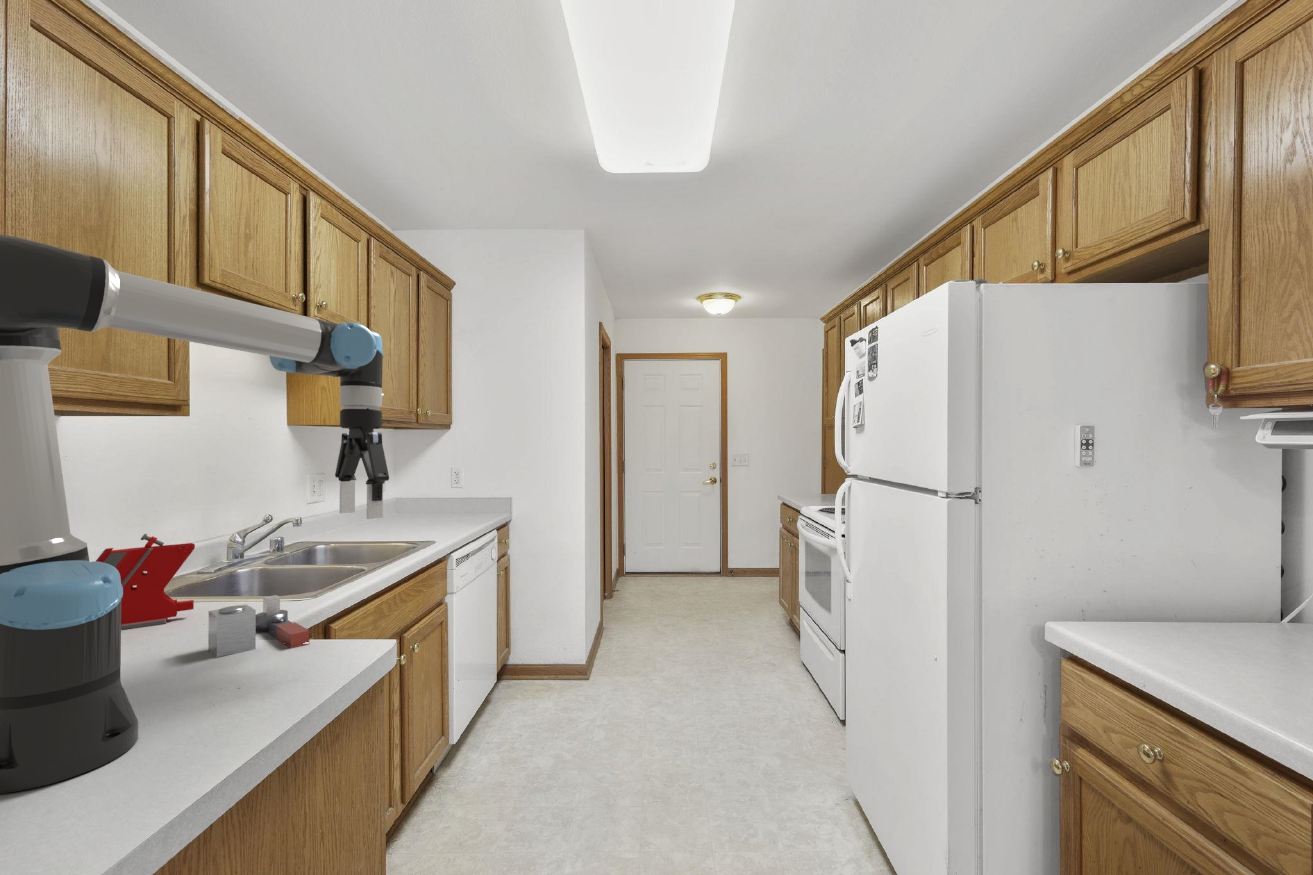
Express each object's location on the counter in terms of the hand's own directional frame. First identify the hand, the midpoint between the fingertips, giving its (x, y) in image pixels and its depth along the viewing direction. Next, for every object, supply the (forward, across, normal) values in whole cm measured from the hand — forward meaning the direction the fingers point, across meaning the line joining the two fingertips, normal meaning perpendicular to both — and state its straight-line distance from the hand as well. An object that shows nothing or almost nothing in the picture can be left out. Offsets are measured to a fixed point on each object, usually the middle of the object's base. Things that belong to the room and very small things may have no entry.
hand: (360, 515), depth 116 cm
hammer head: (+25, +12, +18) cm, 33 cm away
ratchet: (+25, +14, +9) cm, 30 cm away
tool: (+25, +46, +32) cm, 61 cm away
